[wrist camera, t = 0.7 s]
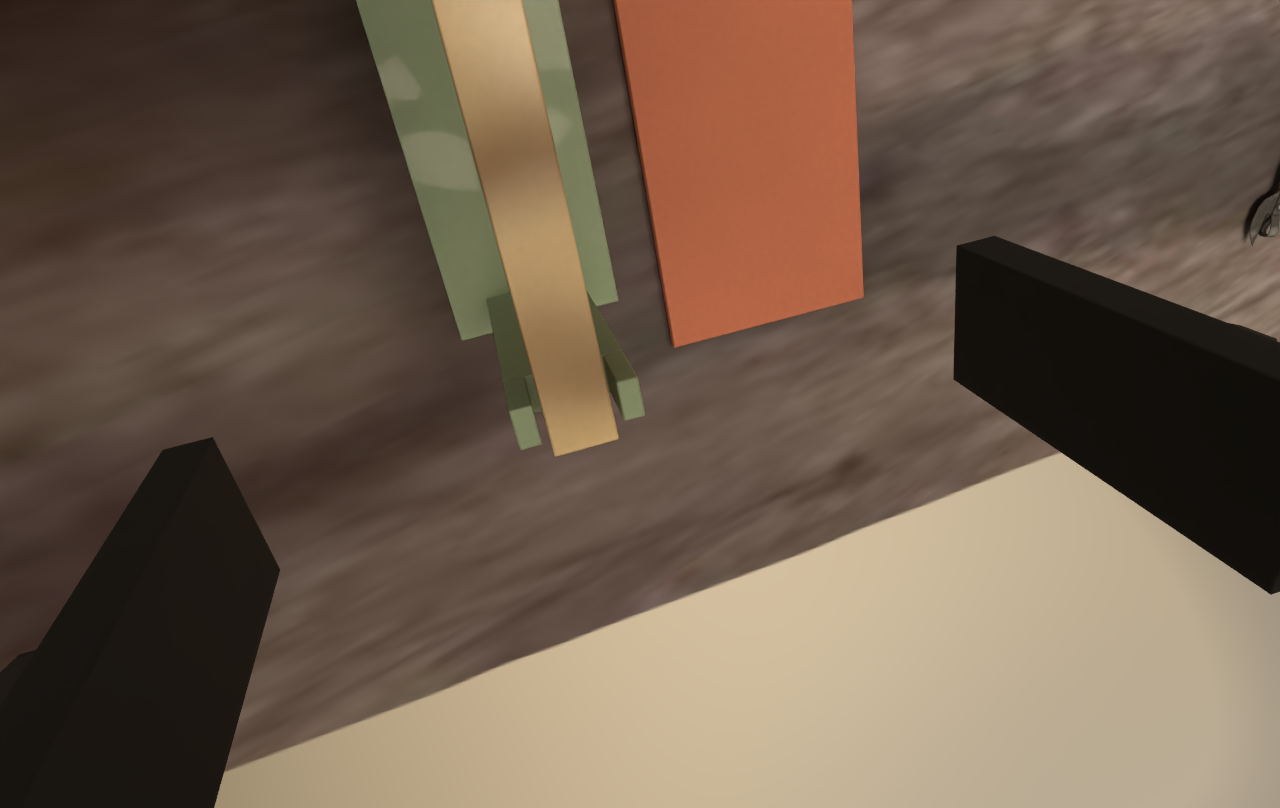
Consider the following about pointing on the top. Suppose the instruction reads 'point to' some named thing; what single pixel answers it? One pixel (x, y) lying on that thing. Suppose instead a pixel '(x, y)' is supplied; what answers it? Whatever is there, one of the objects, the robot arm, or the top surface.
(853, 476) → the top surface
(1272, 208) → the can opener
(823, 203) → the mat
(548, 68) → the rack
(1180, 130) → the top surface
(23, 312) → the top surface
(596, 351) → the hanger bar
